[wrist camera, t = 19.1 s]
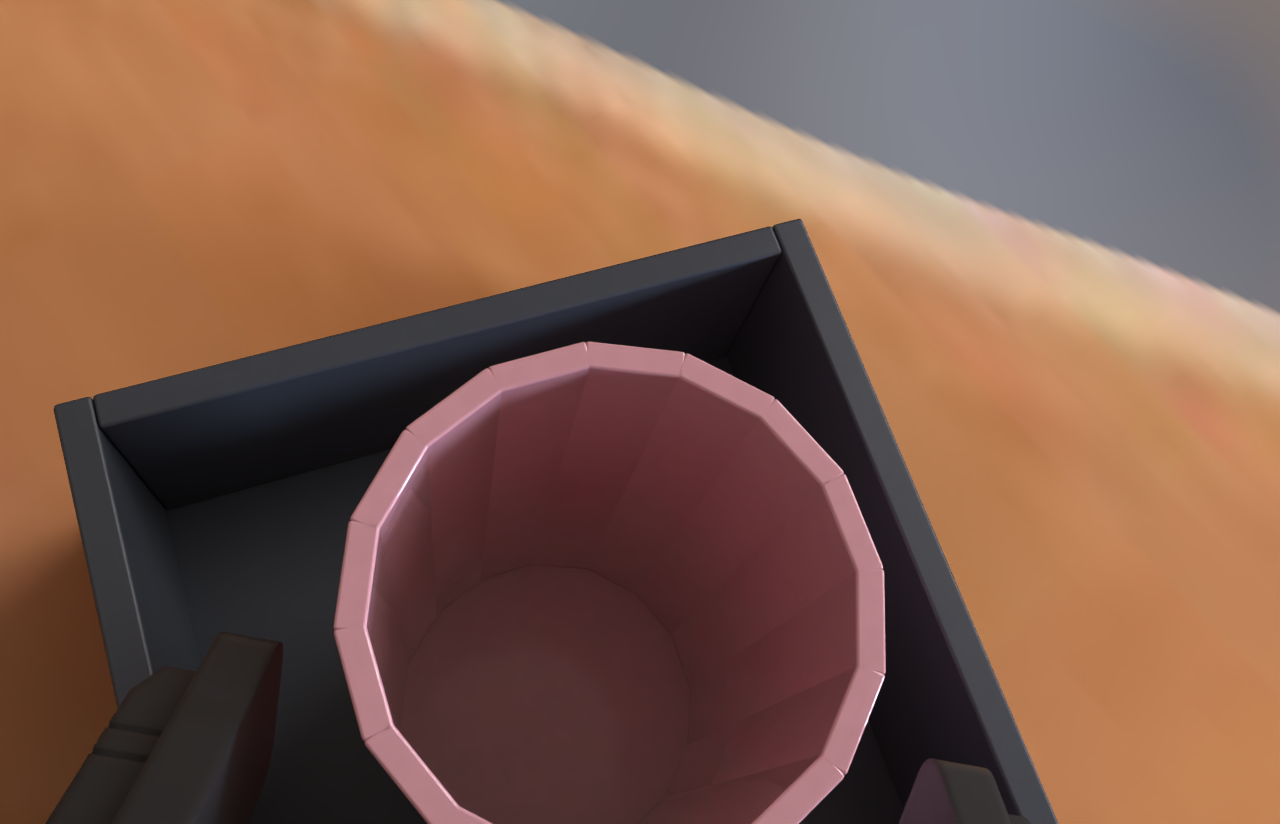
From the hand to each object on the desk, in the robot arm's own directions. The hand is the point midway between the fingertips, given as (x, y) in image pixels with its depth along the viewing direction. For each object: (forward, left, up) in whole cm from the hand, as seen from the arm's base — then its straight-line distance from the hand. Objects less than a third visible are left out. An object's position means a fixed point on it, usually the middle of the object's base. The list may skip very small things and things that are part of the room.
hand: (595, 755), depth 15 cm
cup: (-1, -1, -9) cm, 9 cm away
